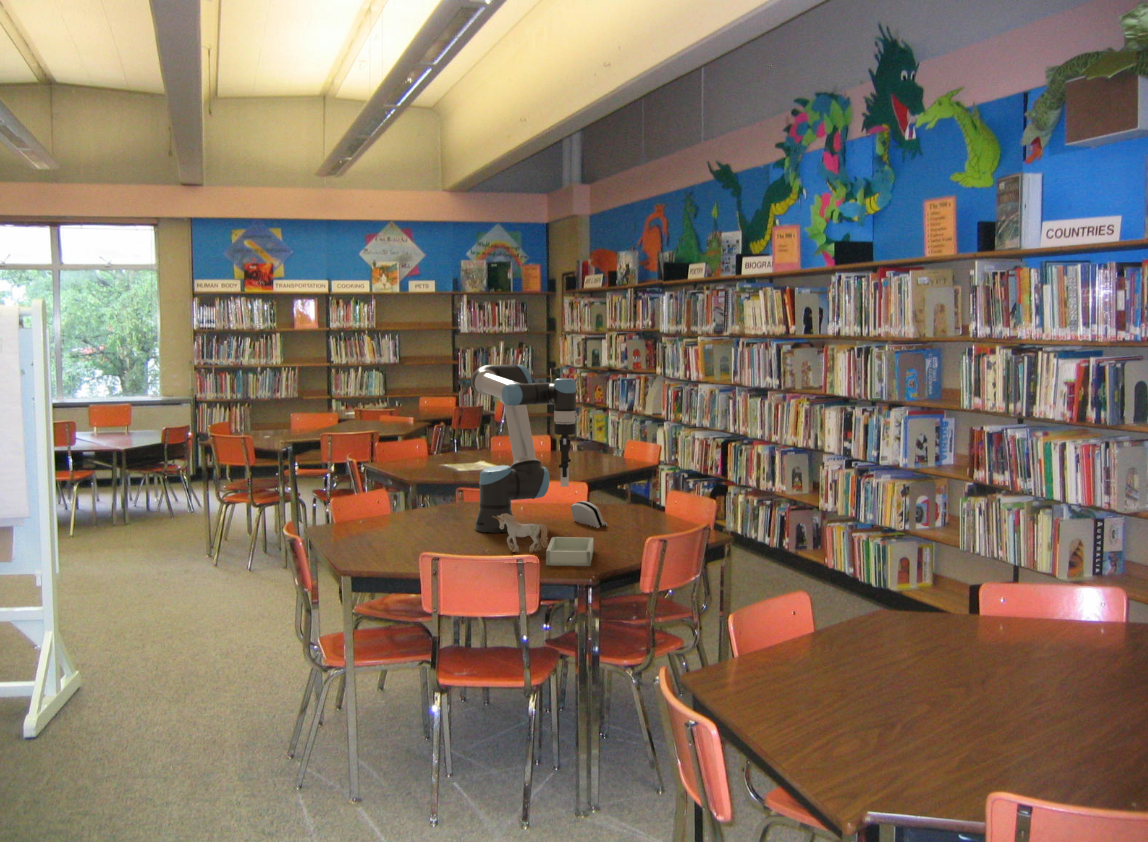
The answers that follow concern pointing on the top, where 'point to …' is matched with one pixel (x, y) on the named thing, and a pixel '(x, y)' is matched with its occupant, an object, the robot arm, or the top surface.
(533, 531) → the unicorn figurine
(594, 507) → the grey curved block
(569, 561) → the tray
